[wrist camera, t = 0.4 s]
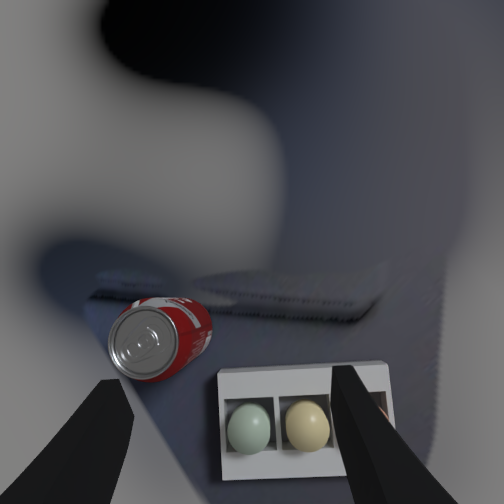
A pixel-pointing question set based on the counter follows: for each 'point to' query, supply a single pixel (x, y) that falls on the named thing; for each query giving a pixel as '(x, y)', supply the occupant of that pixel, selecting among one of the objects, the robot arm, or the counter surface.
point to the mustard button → (306, 425)
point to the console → (276, 404)
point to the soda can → (158, 337)
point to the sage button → (249, 428)
